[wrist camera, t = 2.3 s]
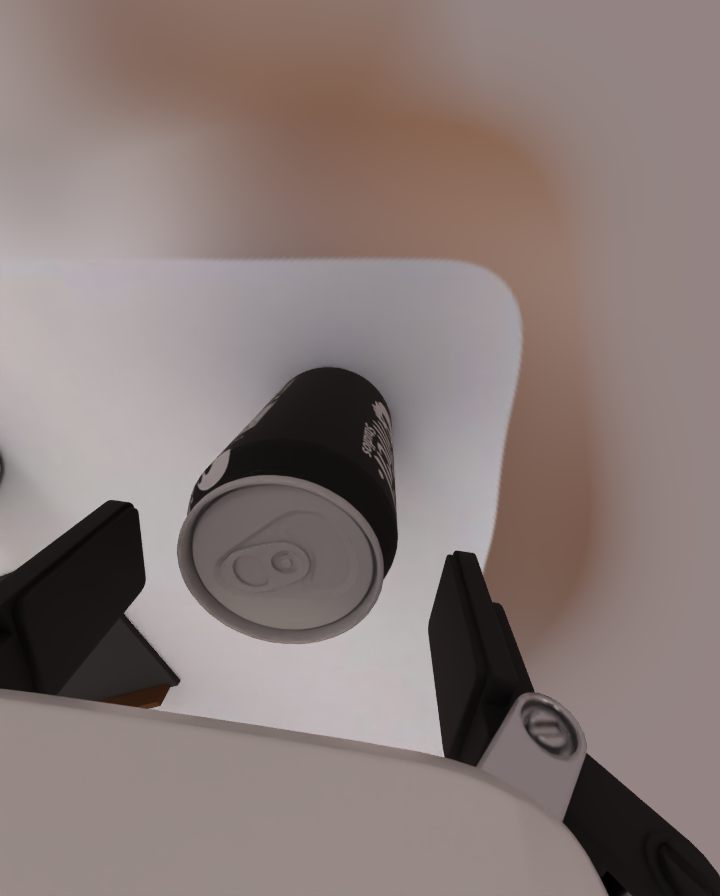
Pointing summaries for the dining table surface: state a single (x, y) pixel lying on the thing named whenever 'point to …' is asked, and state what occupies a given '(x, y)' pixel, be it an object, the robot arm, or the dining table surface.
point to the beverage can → (297, 514)
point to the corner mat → (121, 671)
